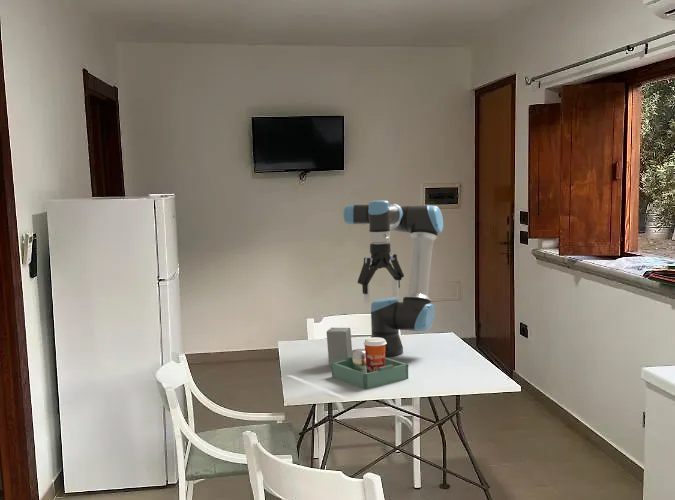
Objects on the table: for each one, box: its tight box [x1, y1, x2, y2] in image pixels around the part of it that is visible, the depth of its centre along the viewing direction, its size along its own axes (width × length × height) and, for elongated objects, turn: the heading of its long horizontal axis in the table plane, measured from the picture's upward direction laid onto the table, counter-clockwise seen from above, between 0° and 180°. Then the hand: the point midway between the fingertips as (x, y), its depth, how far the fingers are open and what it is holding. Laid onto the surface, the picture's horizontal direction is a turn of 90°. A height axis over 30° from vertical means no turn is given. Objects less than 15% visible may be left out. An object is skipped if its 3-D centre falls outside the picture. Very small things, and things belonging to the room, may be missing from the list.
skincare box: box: [326, 327, 353, 369], centre depth 257 cm, size 8×7×16 cm
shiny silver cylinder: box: [352, 348, 367, 373], centre depth 245 cm, size 6×6×9 cm
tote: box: [331, 356, 409, 390], centre depth 241 cm, size 20×20×7 cm
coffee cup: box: [363, 337, 387, 373], centre depth 237 cm, size 8×8×15 cm
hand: (381, 299), depth 242 cm, fingers open, 13 cm apart
